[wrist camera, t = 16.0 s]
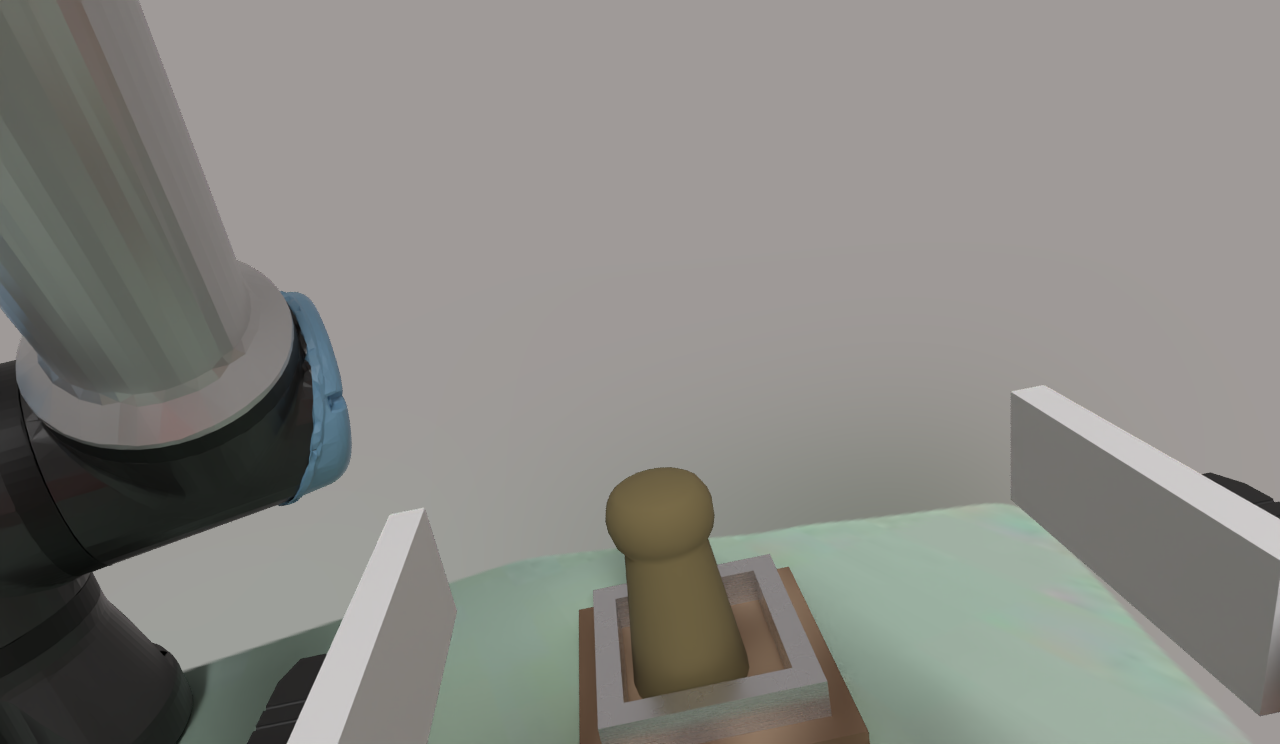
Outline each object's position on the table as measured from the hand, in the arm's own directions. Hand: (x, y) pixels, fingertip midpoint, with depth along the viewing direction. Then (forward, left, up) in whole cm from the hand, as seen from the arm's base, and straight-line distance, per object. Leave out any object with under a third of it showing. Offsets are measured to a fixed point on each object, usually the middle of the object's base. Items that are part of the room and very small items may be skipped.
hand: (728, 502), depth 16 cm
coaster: (-1, +17, -20) cm, 26 cm away
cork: (-1, +17, -19) cm, 25 cm away
